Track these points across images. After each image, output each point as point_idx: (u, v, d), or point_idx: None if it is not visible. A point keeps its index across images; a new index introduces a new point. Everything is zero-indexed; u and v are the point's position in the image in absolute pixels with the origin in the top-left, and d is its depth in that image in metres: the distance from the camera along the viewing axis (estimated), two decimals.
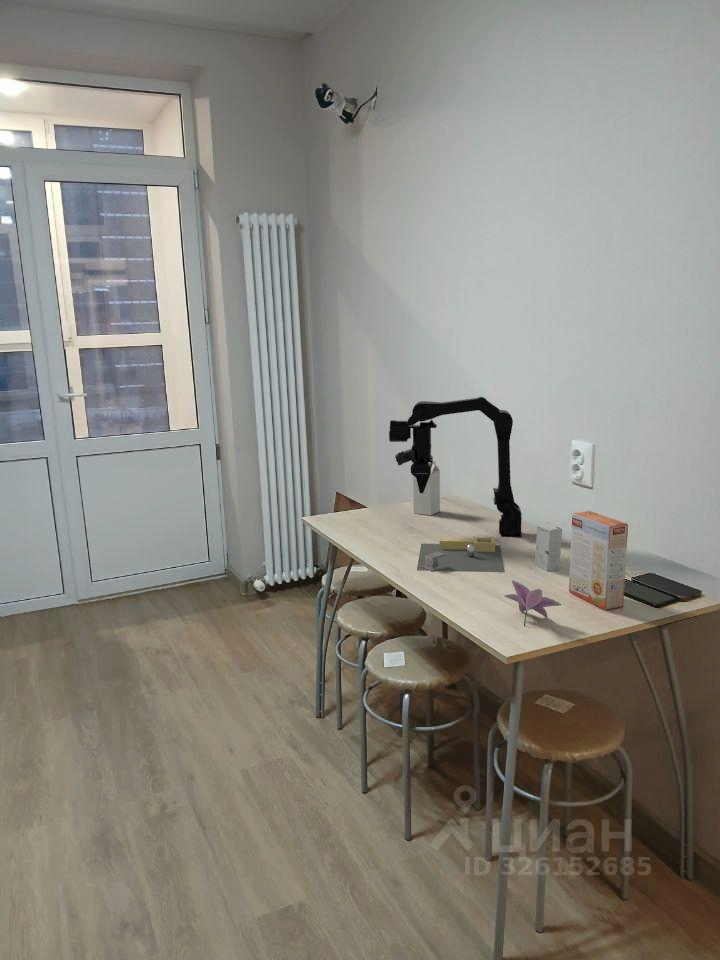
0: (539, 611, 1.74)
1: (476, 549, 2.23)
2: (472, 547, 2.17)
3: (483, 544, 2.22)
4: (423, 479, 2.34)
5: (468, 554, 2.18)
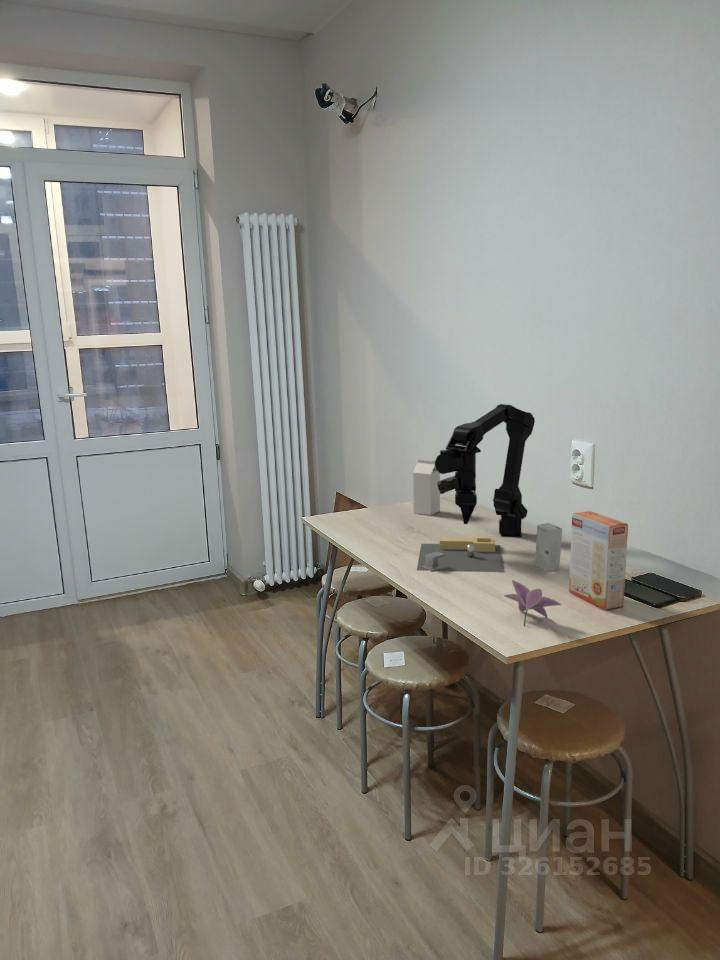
0: (539, 611, 1.74)
1: (476, 549, 2.23)
2: (472, 547, 2.17)
3: (483, 544, 2.22)
4: (468, 509, 2.18)
5: (468, 554, 2.18)
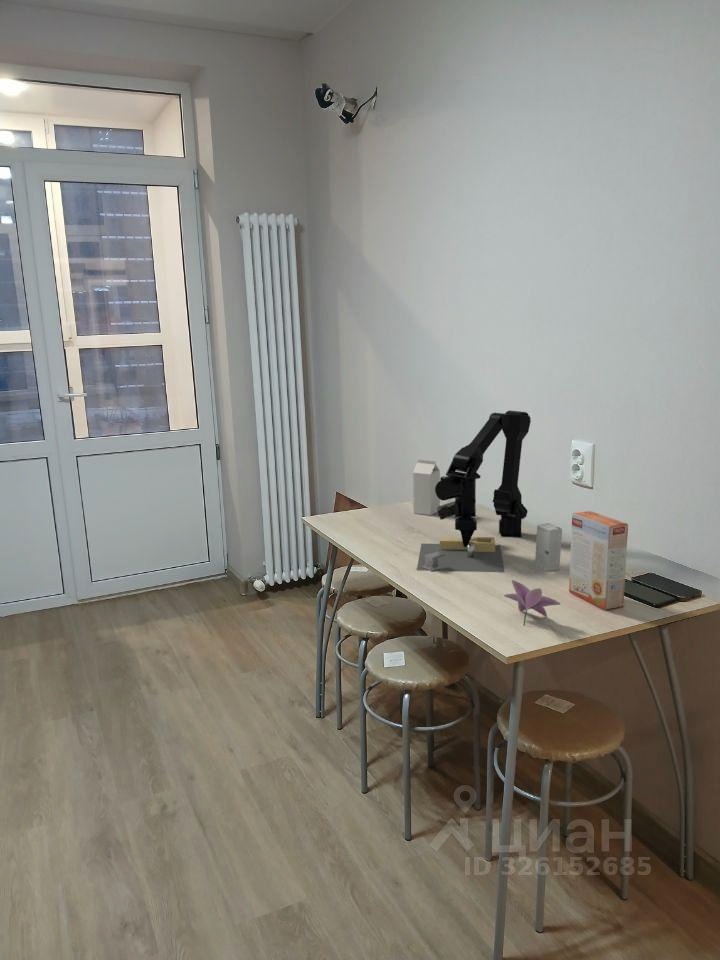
0: (539, 610, 1.75)
1: (476, 549, 2.23)
2: (472, 547, 2.17)
3: (483, 544, 2.22)
4: (468, 532, 2.23)
5: (468, 554, 2.18)
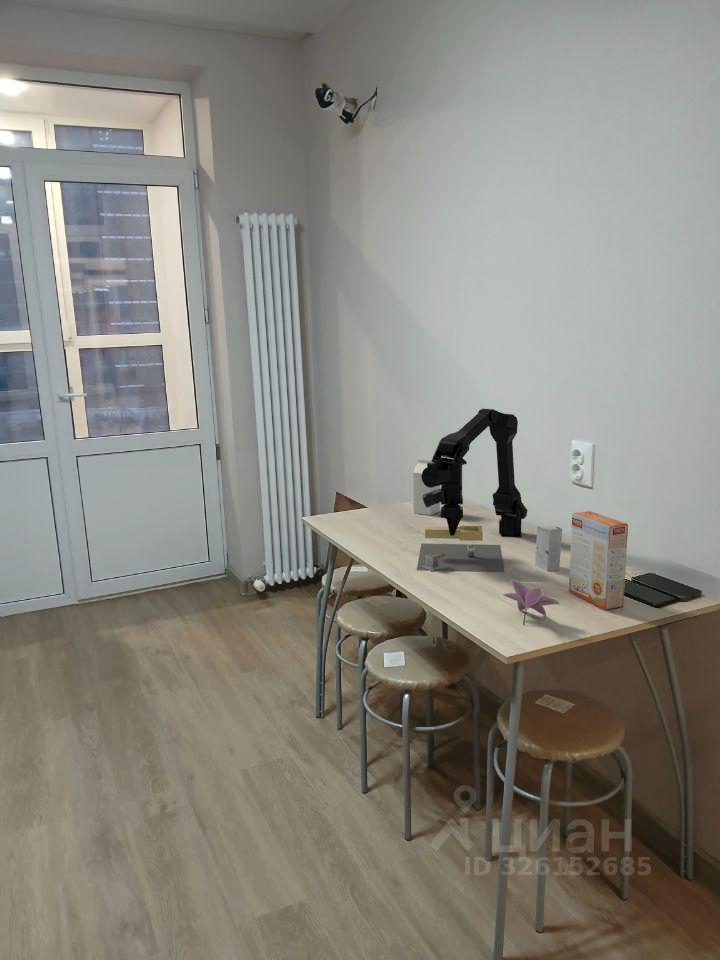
0: (538, 610, 1.75)
1: (462, 538, 2.15)
2: (472, 547, 2.17)
3: (470, 533, 2.14)
4: (454, 521, 2.14)
5: (468, 554, 2.18)
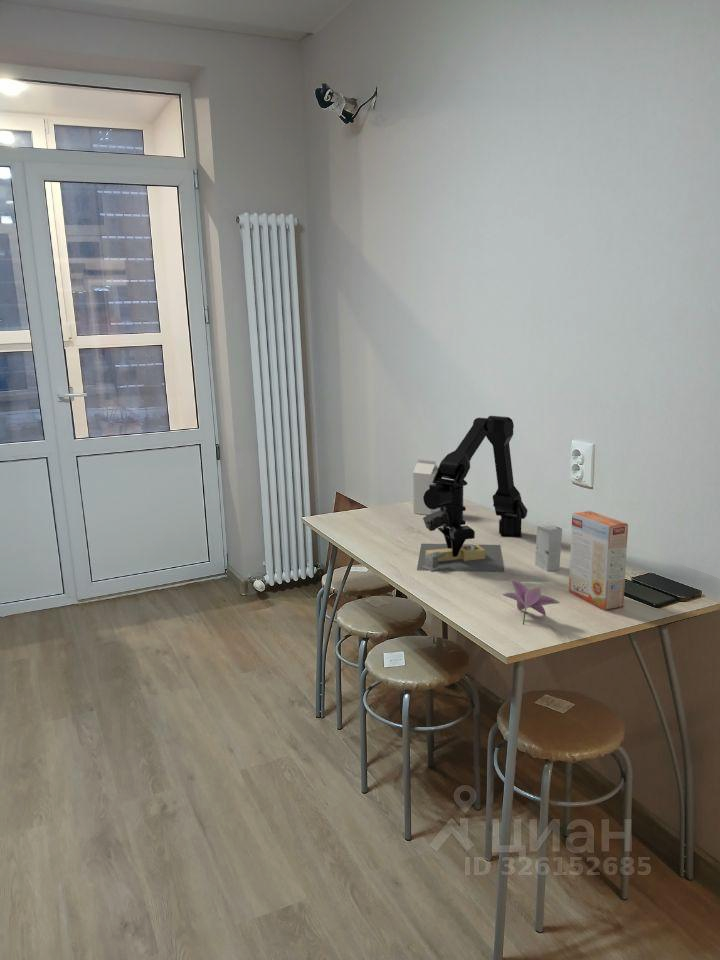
0: (538, 609, 1.75)
1: (466, 558, 2.15)
2: (472, 547, 2.17)
3: (473, 552, 2.15)
4: (458, 541, 2.14)
5: None
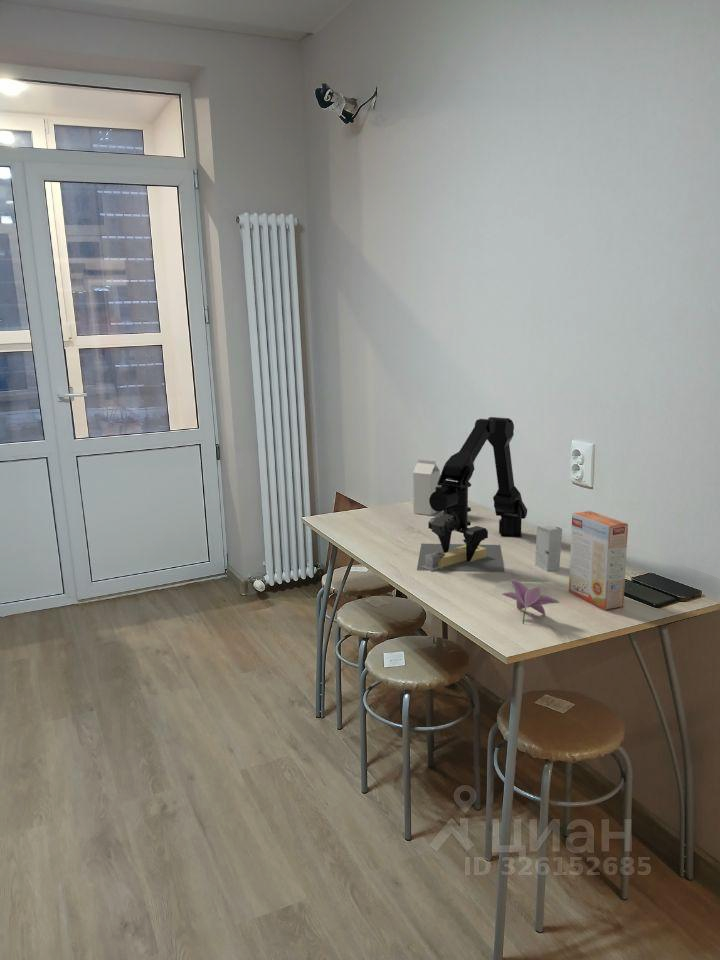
0: (537, 609, 1.76)
1: (472, 559, 2.15)
2: None
3: (477, 551, 2.16)
4: (473, 545, 2.10)
5: None
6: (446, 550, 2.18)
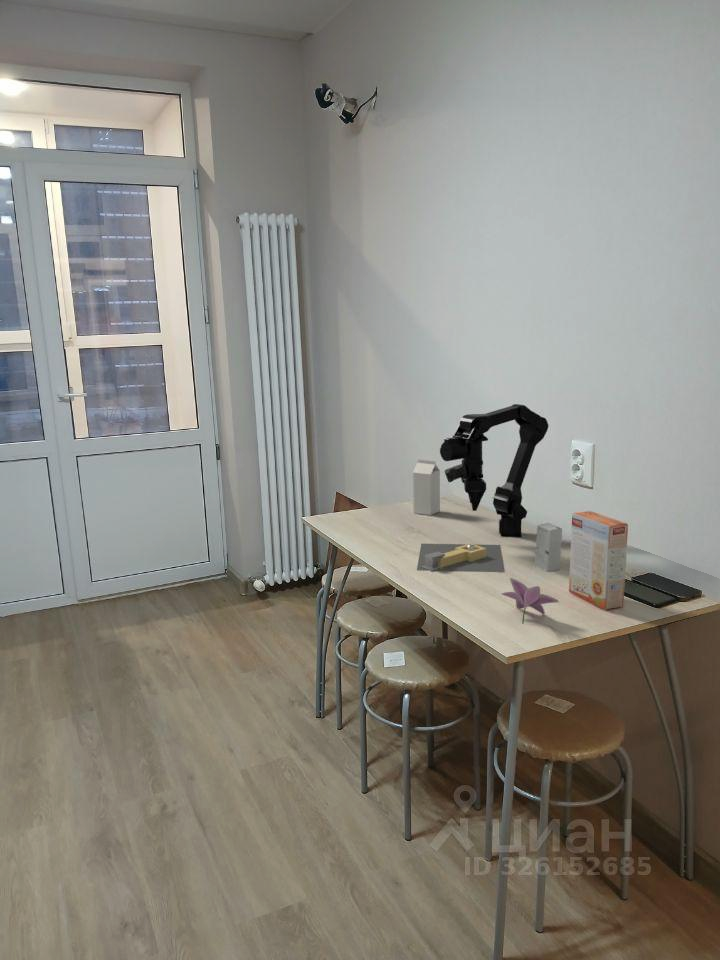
0: (537, 608, 1.76)
1: (472, 559, 2.15)
2: (472, 547, 2.17)
3: (477, 551, 2.16)
4: (477, 496, 2.23)
5: None
6: None
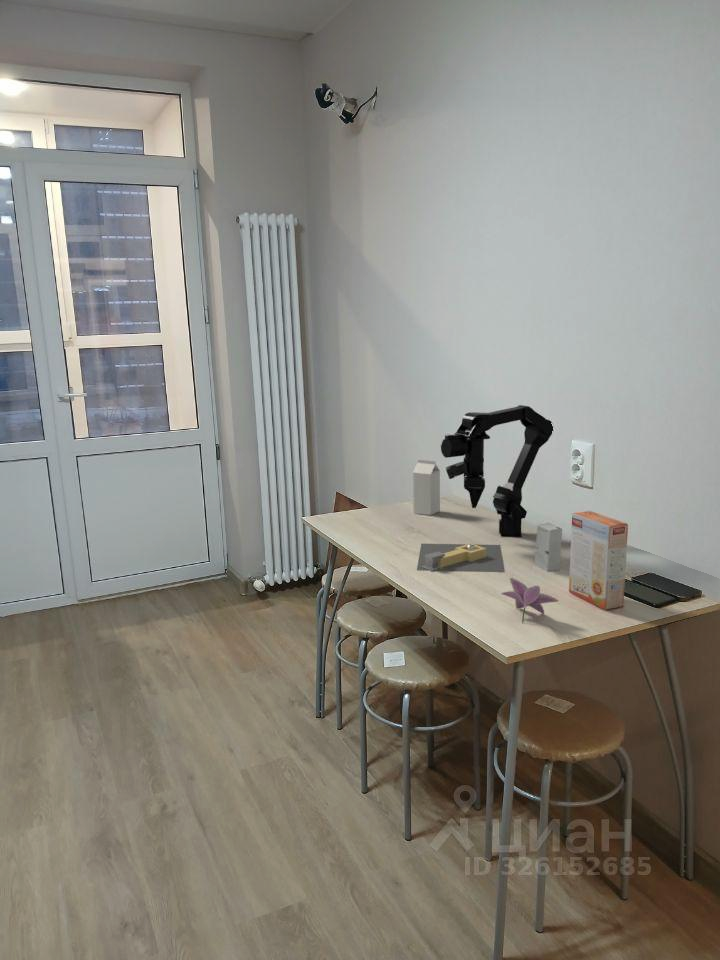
0: (536, 608, 1.76)
1: (472, 559, 2.15)
2: (472, 547, 2.17)
3: (477, 551, 2.16)
4: (476, 493, 2.25)
5: None
6: None
